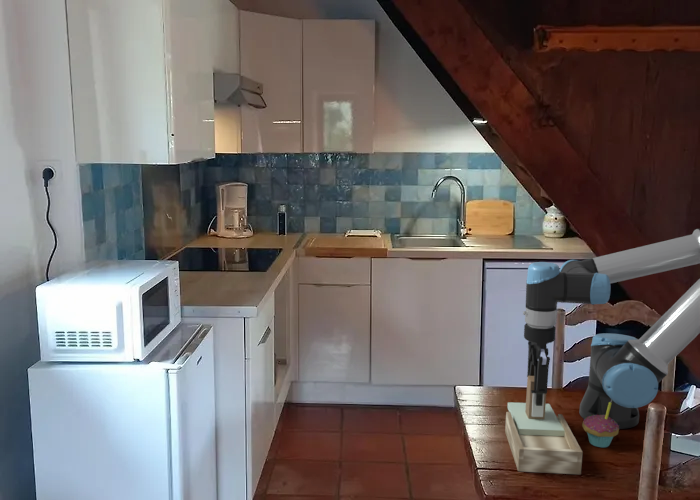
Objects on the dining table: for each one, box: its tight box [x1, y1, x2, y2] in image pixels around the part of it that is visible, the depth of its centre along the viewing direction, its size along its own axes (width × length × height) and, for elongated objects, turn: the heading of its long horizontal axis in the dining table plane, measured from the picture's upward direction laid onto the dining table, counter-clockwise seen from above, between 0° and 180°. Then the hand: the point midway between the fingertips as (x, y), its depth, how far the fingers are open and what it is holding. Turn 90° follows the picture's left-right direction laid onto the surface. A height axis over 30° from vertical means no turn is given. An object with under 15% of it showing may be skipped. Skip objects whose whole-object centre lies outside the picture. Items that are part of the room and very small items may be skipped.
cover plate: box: [507, 376, 565, 436], centre depth 170 cm, size 11×16×12 cm
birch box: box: [504, 411, 584, 475], centre depth 161 cm, size 14×20×6 cm
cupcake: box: [581, 400, 620, 448], centre depth 165 cm, size 9×8×12 cm
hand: (535, 412), depth 170 cm, fingers closed on cover plate, 4 cm apart
